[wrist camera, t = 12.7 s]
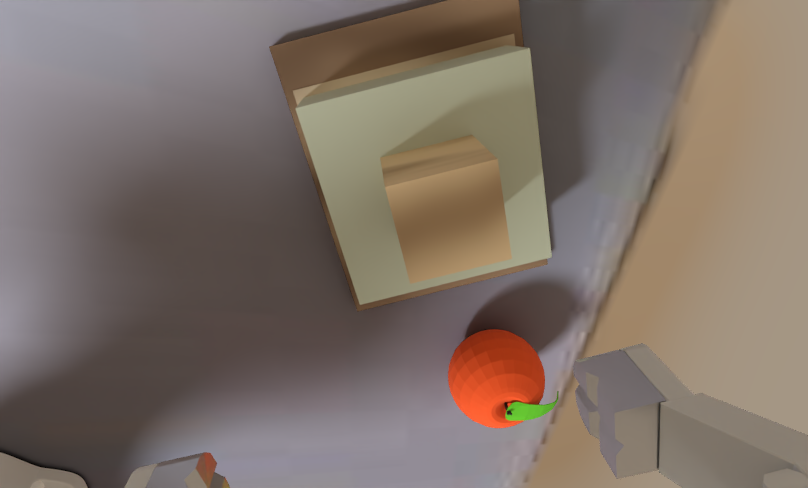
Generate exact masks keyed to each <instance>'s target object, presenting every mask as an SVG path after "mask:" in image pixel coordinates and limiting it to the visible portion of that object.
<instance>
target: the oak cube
mask: <svg viewBox="0 0 808 488" xmlns="http://www.w3.org/2000/svg"><path fill="white" fill-rule="evenodd" d="M380 160H381V166H382V172H383V178H384V185H385V189H386V193H387V197H388V201H389V205H390V208H391V212H392V216H393V220H394V224H395V228H396V231H397V235H398V239H399V243H400V247H401V251H402V254H403V258H404V262H405V266H406V270H407V274H408V277H409V281H410V284H412V283H416V282H420V281H424V280H428V279H432V278H436V277H441V276H445V275H449V274H453V273H457V272H461V271H465V270H469V269H473V268H477V267H481V266H485V265H489V264H493V263H497V262H501V261H506V260H510V259H512V255H511V248H510V241H509V234H508V227H507V221H506V214H505V207H504V200H503V193H502V186H501V179H500V172H499V165H498V159H497V158H496V157H495V156H494V155H493V154H492V153H491V152H490V151H489V150H488V149H487V148H486V147H485V146H483V145H482V144H481V143H480V142H479V141H478V140H477V139H476V138H475V137H474V136H473V135H469V136H465V137H461V138H457V139H453V140H449V141H445V142H441V143H437V144H433V145H429V146H425V147H421V148H417V149H413V150H409V151H405V152H401V153H397V154H393V155H389V156H385V157H381V158H380Z"/></svg>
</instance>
